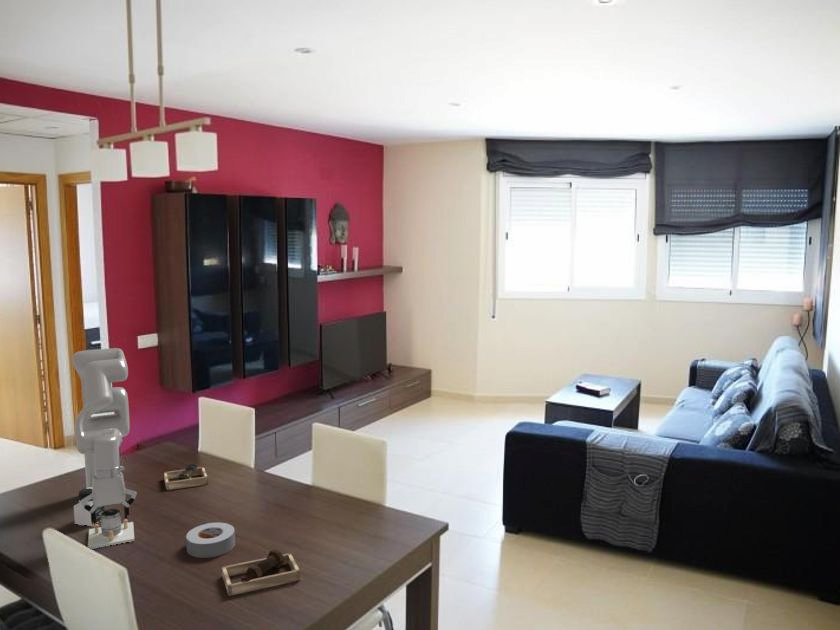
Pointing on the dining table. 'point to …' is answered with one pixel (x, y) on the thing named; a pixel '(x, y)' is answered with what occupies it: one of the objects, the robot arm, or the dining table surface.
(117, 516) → the camera lens
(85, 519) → the medicine bottle
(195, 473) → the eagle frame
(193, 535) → the tape roll
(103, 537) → the pin board
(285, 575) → the bolt frame
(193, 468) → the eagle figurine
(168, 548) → the dining table surface
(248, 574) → the bolt
